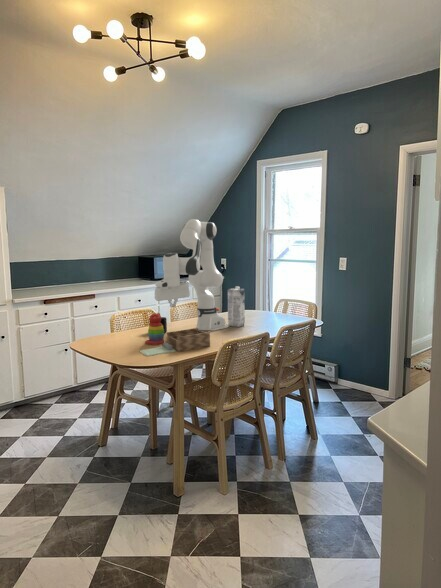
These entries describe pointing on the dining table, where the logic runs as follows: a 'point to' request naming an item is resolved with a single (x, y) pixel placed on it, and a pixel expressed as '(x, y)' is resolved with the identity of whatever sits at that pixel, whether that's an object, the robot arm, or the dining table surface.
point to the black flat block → (164, 323)
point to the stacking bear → (155, 330)
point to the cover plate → (158, 350)
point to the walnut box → (188, 339)
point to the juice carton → (236, 307)
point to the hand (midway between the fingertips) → (173, 306)
